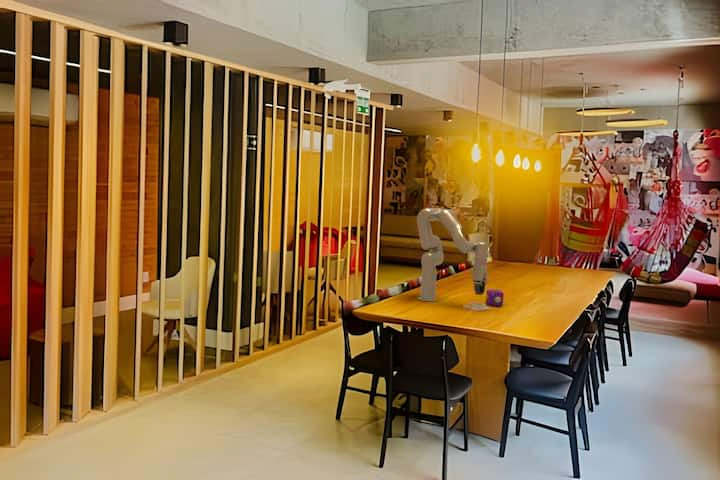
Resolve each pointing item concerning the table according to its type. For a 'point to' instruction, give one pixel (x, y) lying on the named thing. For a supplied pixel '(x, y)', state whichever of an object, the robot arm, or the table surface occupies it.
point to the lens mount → (477, 306)
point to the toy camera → (494, 297)
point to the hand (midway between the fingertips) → (479, 291)
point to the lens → (478, 288)
